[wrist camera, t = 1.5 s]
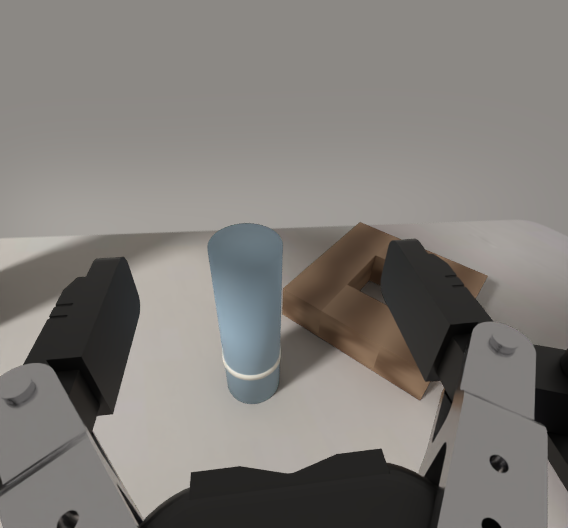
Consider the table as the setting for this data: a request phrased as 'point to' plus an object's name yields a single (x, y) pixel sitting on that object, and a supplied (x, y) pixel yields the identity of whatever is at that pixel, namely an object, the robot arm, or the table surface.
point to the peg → (248, 307)
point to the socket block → (360, 305)
